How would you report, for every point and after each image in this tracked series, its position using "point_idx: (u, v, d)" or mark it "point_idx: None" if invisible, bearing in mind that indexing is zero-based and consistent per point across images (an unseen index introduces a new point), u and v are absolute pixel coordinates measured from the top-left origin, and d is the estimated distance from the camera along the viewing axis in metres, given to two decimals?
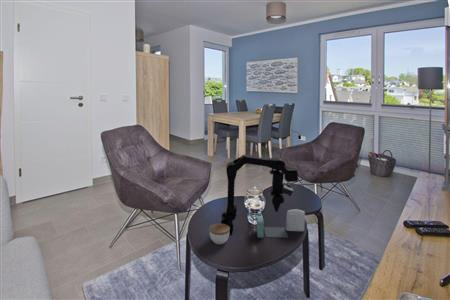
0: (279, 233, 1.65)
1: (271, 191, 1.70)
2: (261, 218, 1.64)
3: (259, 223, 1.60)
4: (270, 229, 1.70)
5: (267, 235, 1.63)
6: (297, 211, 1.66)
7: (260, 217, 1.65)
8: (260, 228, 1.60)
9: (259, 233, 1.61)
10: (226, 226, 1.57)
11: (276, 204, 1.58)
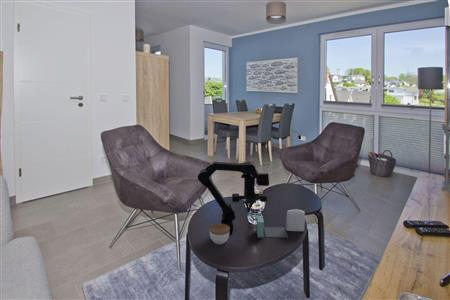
0: (279, 233, 1.65)
1: None
2: (261, 218, 1.64)
3: (259, 223, 1.60)
4: (270, 229, 1.70)
5: (267, 235, 1.63)
6: (297, 211, 1.66)
7: (260, 217, 1.65)
8: (260, 228, 1.60)
9: (259, 233, 1.61)
10: (226, 226, 1.57)
11: None
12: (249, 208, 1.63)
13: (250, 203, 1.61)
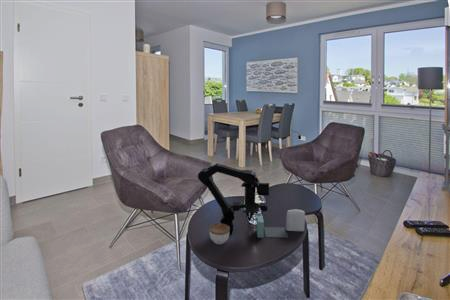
0: (279, 233, 1.65)
1: None
2: (261, 218, 1.64)
3: (259, 223, 1.60)
4: (270, 229, 1.70)
5: (267, 235, 1.63)
6: (297, 211, 1.66)
7: (260, 217, 1.65)
8: (260, 228, 1.60)
9: (259, 233, 1.61)
10: (226, 226, 1.57)
11: None
12: (250, 217, 1.62)
13: (250, 212, 1.61)
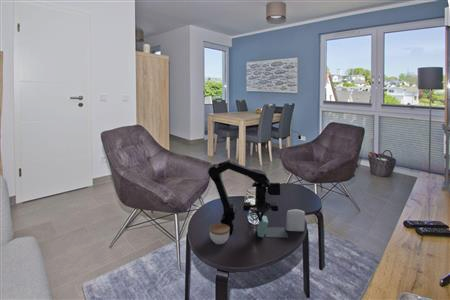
0: (279, 233, 1.65)
1: None
2: (265, 218, 1.64)
3: (263, 222, 1.60)
4: (270, 229, 1.70)
5: (267, 235, 1.63)
6: (297, 211, 1.66)
7: (264, 217, 1.65)
8: (263, 228, 1.60)
9: (260, 232, 1.61)
10: (226, 226, 1.57)
11: None
12: (260, 217, 1.62)
13: (261, 212, 1.61)
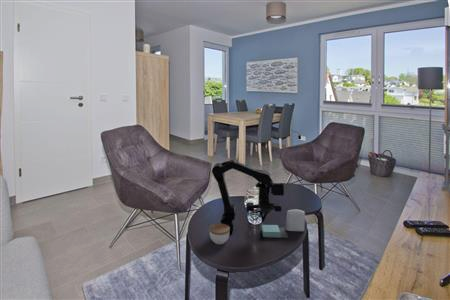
0: None
1: None
2: None
3: (278, 233, 1.61)
4: None
5: None
6: (297, 211, 1.66)
7: None
8: (273, 234, 1.61)
9: (267, 233, 1.61)
10: (226, 226, 1.57)
11: (260, 213, 1.63)
12: (263, 217, 1.62)
13: (264, 212, 1.61)
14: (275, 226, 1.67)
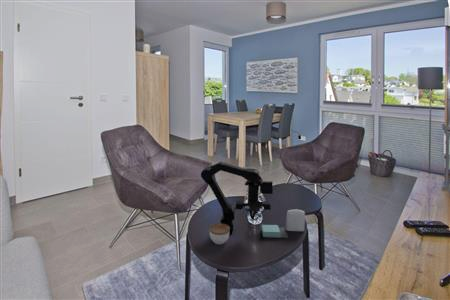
0: None
1: None
2: None
3: (278, 233, 1.61)
4: None
5: None
6: (297, 211, 1.66)
7: None
8: (273, 234, 1.61)
9: (267, 233, 1.61)
10: (226, 226, 1.57)
11: (249, 211, 1.63)
12: (253, 216, 1.62)
13: (254, 211, 1.60)
14: (275, 226, 1.67)
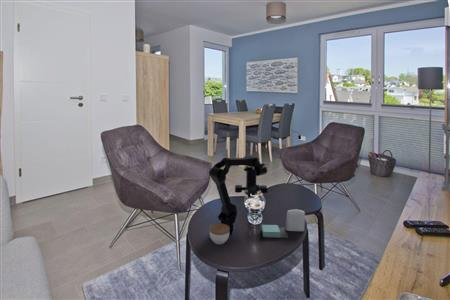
0: None
1: None
2: None
3: (278, 233, 1.61)
4: None
5: None
6: (297, 211, 1.66)
7: None
8: (273, 234, 1.61)
9: (267, 233, 1.61)
10: (226, 226, 1.57)
11: (248, 194, 1.76)
12: None
13: (252, 194, 1.73)
14: (275, 226, 1.67)
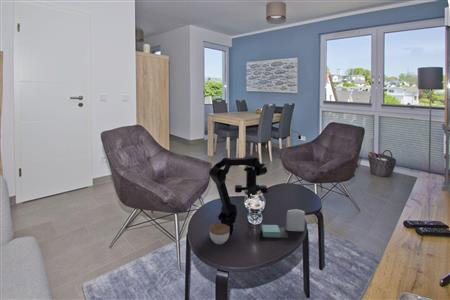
0: None
1: None
2: None
3: (278, 233, 1.61)
4: None
5: None
6: (297, 211, 1.66)
7: None
8: (273, 234, 1.61)
9: (267, 233, 1.61)
10: (226, 226, 1.57)
11: (248, 194, 1.76)
12: None
13: (252, 194, 1.73)
14: (275, 226, 1.67)
